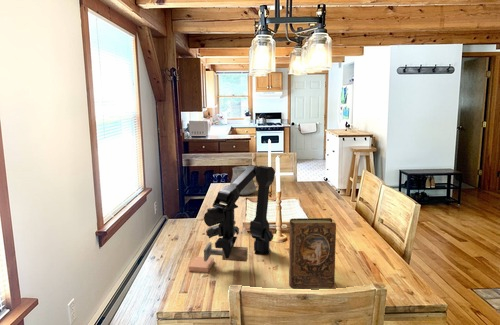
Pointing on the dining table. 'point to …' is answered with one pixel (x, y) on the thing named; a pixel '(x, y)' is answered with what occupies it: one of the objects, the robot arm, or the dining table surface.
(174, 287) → the dining table surface
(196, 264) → the tile
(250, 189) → the vessel
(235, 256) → the scraper
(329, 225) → the book
